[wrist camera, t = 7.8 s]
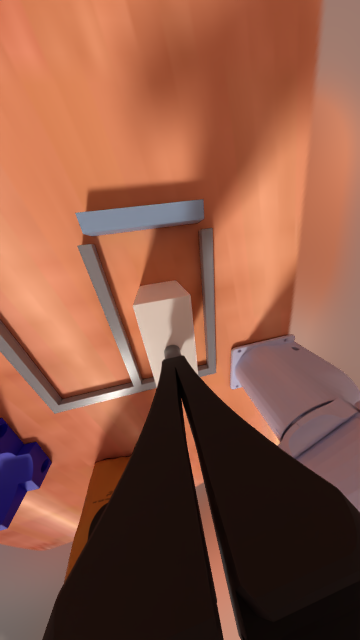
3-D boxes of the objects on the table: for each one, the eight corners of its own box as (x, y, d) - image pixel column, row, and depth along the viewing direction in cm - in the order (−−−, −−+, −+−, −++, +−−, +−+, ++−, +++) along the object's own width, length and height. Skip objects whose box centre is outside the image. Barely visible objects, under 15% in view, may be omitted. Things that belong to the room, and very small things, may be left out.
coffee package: (148, 449, 26) (140, 1046, 6) (146, 479, 31) (140, 868, 11) (88, 459, 24) (-202, 1404, 4) (97, 490, 29) (-18, 991, 9)
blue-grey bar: (197, 205, 12) (203, 199, 10) (198, 222, 12) (204, 218, 11) (85, 218, 11) (75, 213, 9) (91, 236, 11) (83, 233, 10)
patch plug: (175, 279, 14) (197, 302, 8) (184, 344, 18) (204, 398, 11) (139, 285, 14) (129, 315, 7) (156, 350, 17) (159, 410, 11)
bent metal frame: (209, 229, 13) (212, 228, 12) (213, 368, 20) (216, 372, 20) (-60, 264, 10) (-75, 265, 10) (58, 407, 18) (54, 413, 17)
